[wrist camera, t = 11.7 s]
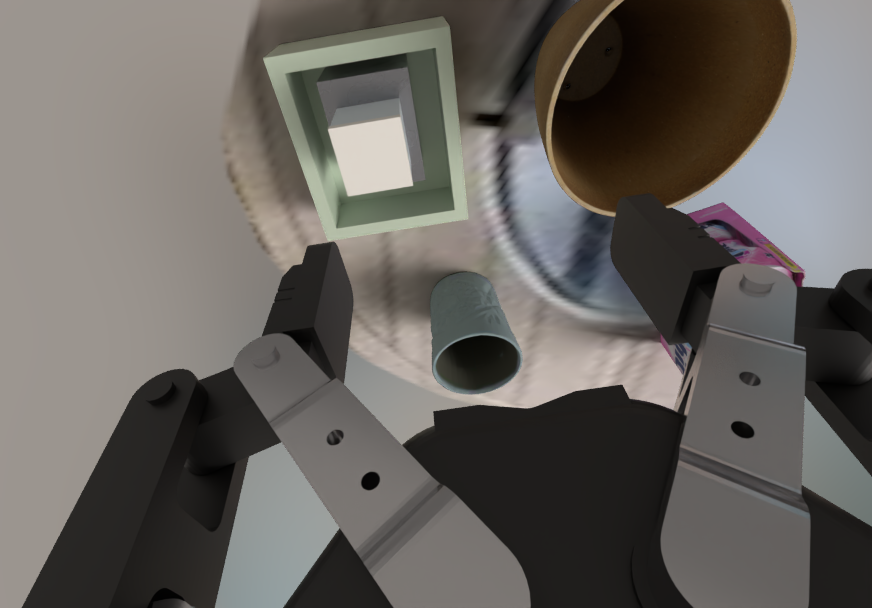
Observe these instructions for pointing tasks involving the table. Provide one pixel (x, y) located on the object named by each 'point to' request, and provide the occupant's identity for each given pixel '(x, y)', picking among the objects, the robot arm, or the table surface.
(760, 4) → the plant pot
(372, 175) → the off-white carton
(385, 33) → the tote
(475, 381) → the teal cup
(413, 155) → the tin block
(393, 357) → the table surface
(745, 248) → the gum box
